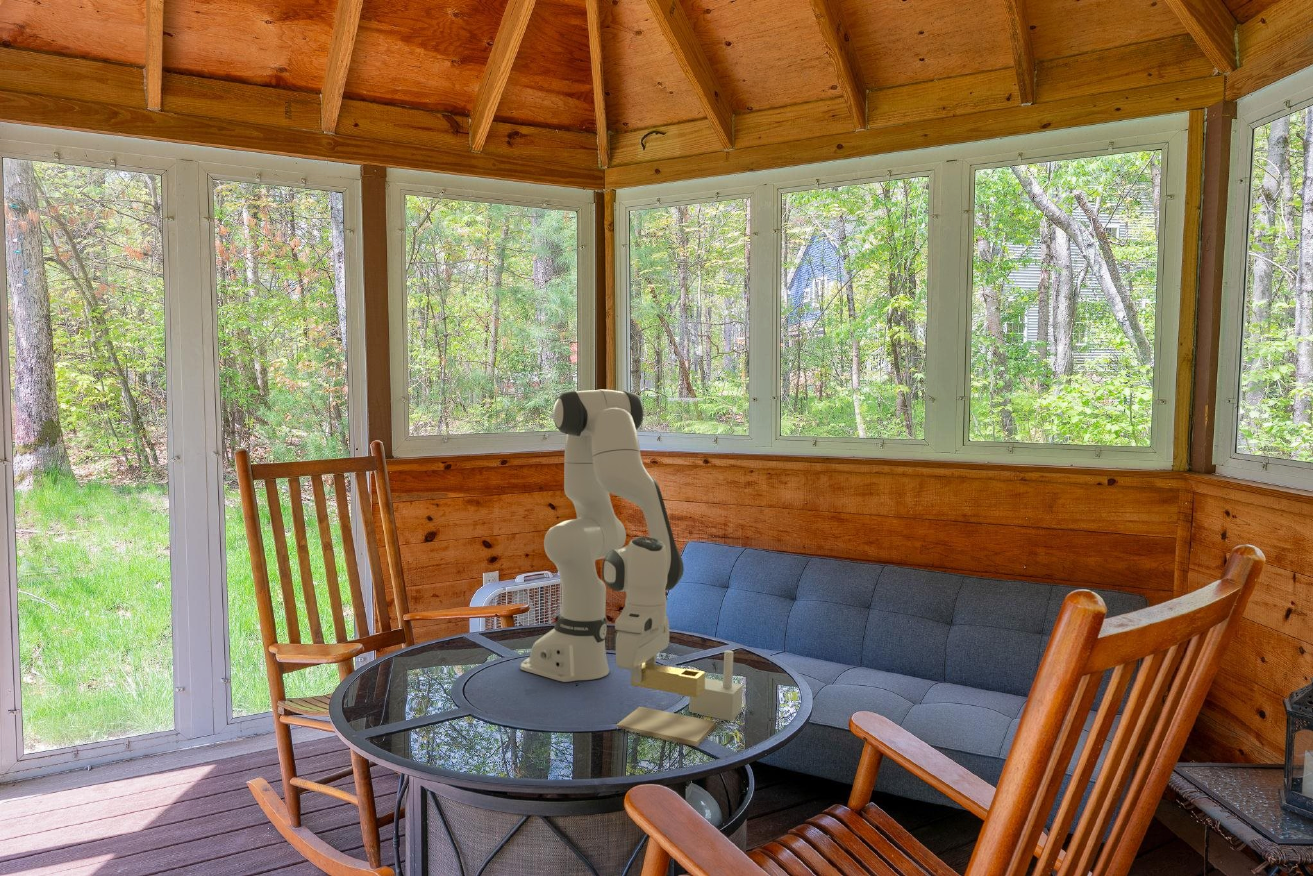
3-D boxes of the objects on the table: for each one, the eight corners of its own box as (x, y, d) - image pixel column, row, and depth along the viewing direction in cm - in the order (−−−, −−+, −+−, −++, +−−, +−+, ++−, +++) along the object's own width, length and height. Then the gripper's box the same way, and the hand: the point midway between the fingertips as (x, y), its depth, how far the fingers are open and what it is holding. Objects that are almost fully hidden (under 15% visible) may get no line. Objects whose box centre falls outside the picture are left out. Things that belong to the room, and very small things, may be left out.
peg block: (688, 712, 189) (691, 650, 189) (699, 702, 196) (702, 642, 195) (731, 721, 185) (734, 657, 185) (741, 710, 192) (744, 649, 191)
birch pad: (616, 729, 178) (616, 724, 178) (639, 710, 189) (640, 706, 189) (696, 746, 171) (696, 741, 171) (716, 726, 182) (716, 721, 182)
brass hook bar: (630, 685, 180) (630, 667, 180) (639, 679, 185) (640, 661, 185) (696, 697, 174) (696, 678, 174) (704, 690, 179) (705, 671, 179)
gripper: (651, 603, 192) (649, 663, 193) (611, 623, 173) (608, 690, 174) (677, 606, 190) (675, 667, 190) (639, 627, 171) (636, 695, 171)
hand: (643, 678), depth 182 cm, fingers closed on brass hook bar, 4 cm apart
